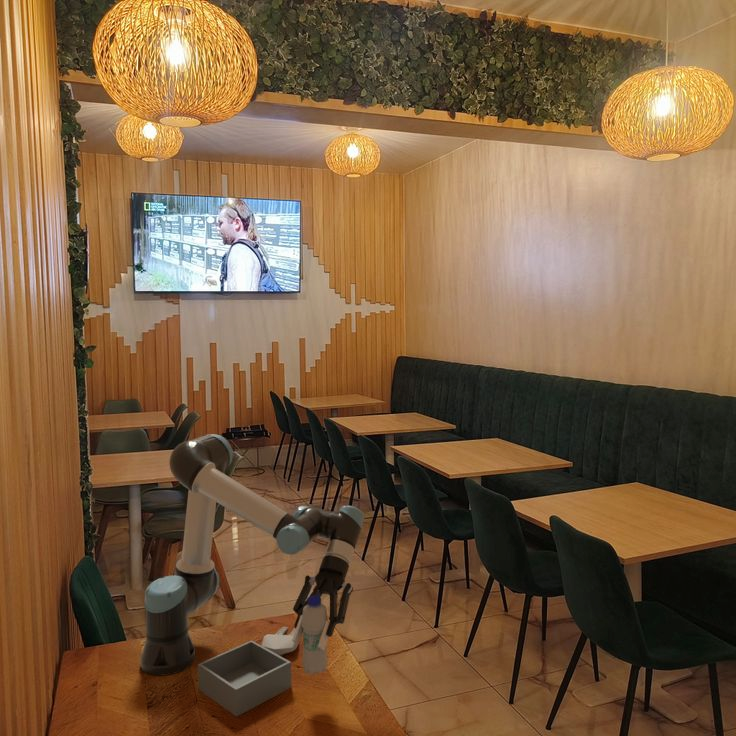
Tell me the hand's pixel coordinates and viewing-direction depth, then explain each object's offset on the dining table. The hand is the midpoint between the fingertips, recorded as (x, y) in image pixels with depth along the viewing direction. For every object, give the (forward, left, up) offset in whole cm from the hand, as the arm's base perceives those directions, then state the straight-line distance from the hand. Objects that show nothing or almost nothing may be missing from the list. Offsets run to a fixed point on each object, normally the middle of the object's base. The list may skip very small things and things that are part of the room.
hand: (308, 645), depth 161 cm
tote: (-19, -6, -16) cm, 26 cm away
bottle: (-1, +3, -9) cm, 9 cm away
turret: (-31, +16, -17) cm, 39 cm away
